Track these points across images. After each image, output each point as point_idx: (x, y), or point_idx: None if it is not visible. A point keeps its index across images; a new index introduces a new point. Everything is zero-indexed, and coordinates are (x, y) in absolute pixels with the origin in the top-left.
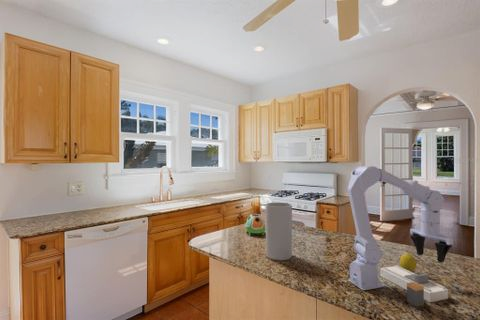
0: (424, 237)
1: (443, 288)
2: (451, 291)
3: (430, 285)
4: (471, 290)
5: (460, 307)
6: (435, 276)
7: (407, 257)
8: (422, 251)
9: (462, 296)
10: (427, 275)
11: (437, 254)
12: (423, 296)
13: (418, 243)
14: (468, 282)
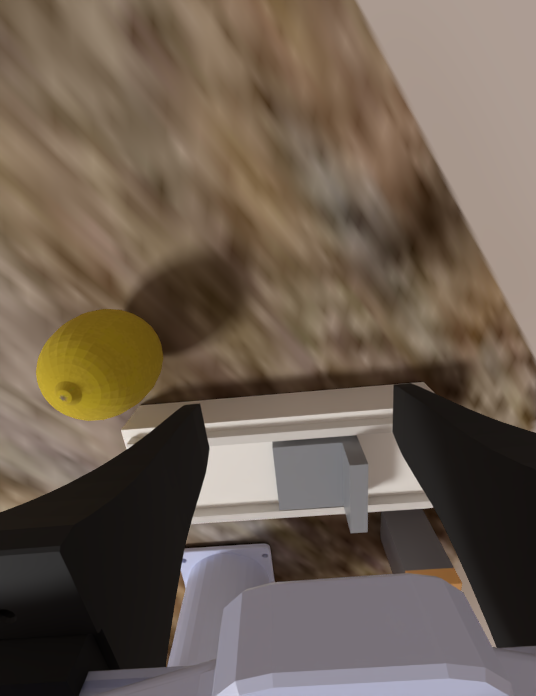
0: (99, 549)
1: None
2: (379, 296)
3: (381, 447)
4: (409, 155)
5: (491, 396)
6: (198, 201)
7: (109, 411)
8: (192, 427)
9: (435, 290)
10: (367, 469)
11: (432, 501)
12: (437, 538)
13: (172, 561)
14: (321, 31)
